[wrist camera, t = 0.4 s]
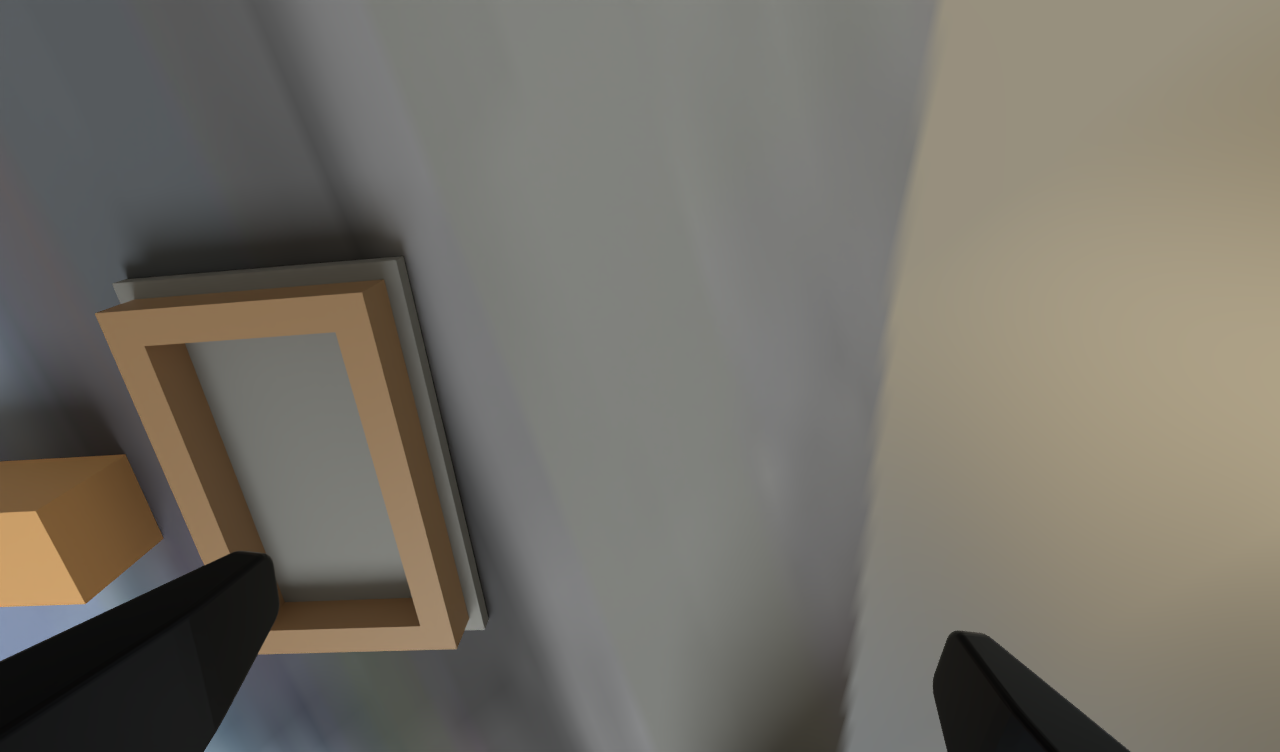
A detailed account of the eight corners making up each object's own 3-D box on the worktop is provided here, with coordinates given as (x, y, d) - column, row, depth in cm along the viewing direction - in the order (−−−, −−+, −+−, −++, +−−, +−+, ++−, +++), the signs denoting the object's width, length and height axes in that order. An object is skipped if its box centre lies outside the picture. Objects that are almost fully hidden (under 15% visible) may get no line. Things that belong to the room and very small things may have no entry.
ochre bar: (129, 452, 25) (35, 511, 22) (166, 535, 27) (85, 603, 23) (-54, 462, 26) (-174, 520, 22) (-7, 543, 28) (-113, 610, 24)
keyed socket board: (488, 619, 27) (473, 660, 25) (267, 625, 28) (235, 666, 26) (403, 256, 21) (374, 271, 19) (126, 279, 22) (70, 296, 20)
